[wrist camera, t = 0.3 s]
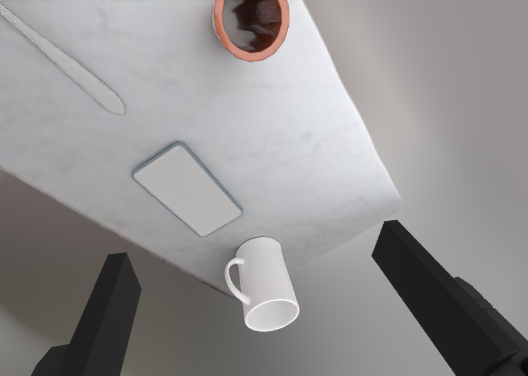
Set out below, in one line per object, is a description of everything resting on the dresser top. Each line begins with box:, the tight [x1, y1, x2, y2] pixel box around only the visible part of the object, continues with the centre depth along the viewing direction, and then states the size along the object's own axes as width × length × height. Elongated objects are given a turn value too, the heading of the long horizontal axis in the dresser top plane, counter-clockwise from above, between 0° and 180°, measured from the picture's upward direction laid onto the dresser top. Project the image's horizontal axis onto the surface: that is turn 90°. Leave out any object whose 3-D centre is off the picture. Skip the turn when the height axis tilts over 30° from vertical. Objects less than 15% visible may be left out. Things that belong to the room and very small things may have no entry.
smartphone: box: [132, 142, 243, 237], centre depth 36 cm, size 8×1×15 cm
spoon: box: [0, 3, 125, 115], centre depth 22 cm, size 4×21×2 cm, turn 35°
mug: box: [225, 237, 299, 331], centre depth 40 cm, size 12×8×12 cm
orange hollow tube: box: [211, 0, 289, 62], centre depth 20 cm, size 4×4×14 cm
